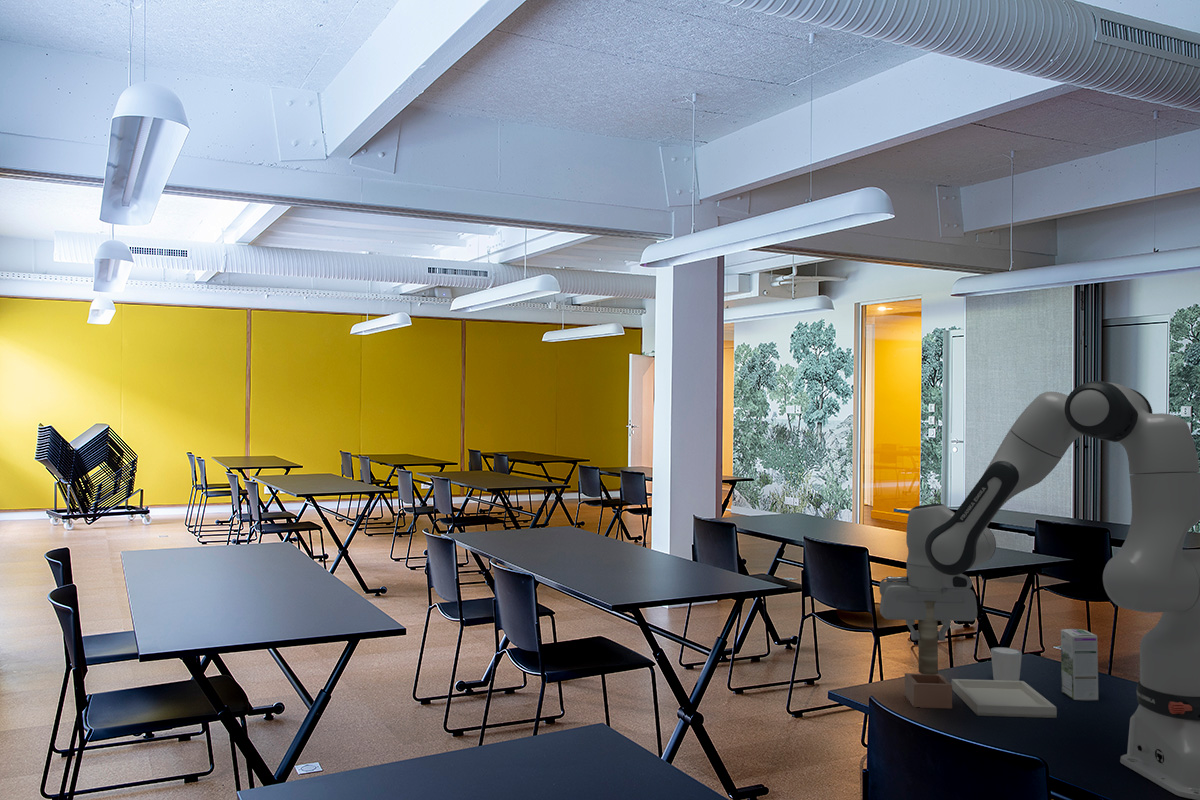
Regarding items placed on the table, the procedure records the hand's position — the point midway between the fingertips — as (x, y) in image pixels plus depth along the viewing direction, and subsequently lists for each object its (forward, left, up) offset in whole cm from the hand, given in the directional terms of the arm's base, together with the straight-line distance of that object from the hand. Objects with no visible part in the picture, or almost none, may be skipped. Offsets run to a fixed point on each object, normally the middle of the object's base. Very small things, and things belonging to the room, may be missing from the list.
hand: (928, 639), depth 197 cm
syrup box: (+7, -35, -14) cm, 38 cm away
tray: (+1, -16, -14) cm, 21 cm away
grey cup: (+18, -23, -14) cm, 32 cm away
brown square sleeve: (0, 0, -14) cm, 14 cm away
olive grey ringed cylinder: (0, 0, -7) cm, 7 cm away
